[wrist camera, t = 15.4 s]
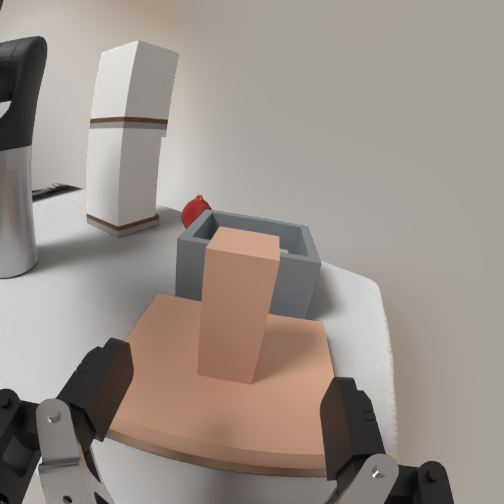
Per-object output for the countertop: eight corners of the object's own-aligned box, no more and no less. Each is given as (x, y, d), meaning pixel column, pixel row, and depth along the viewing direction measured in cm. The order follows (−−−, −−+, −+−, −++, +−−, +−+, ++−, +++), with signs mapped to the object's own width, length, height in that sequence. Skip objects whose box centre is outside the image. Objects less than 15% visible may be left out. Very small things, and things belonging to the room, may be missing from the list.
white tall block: (158, 224, 55) (179, 53, 42) (118, 237, 46) (138, 40, 33) (124, 212, 59) (140, 60, 46) (86, 222, 50) (102, 52, 37)
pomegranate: (178, 230, 54) (181, 190, 51) (206, 230, 56) (210, 191, 53) (183, 241, 49) (186, 197, 46) (214, 241, 51) (219, 198, 48)
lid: (93, 422, 15) (42, 268, 10) (158, 312, 29) (160, 196, 24) (332, 468, 14) (430, 339, 10) (316, 340, 28) (351, 229, 24)
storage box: (175, 303, 32) (177, 238, 29) (201, 258, 44) (206, 209, 41) (303, 325, 31) (321, 263, 28) (296, 275, 43) (307, 226, 40)
